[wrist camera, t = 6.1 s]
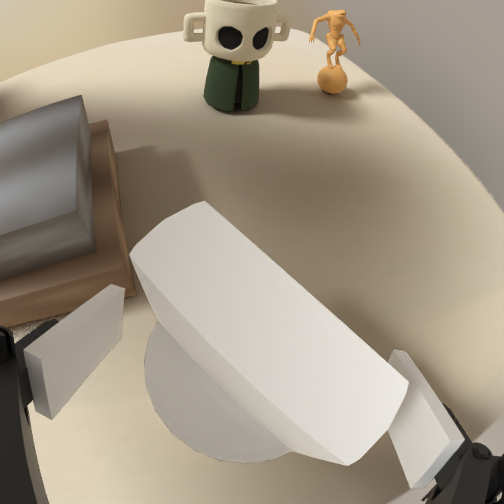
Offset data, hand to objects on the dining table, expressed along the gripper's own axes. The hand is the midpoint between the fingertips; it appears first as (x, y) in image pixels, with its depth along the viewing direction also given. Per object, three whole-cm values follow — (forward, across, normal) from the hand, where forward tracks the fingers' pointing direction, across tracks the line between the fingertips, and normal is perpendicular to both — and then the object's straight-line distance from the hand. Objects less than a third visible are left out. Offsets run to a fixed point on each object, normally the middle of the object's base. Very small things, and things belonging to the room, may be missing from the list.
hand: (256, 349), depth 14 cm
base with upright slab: (+4, 0, -5) cm, 6 cm away
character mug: (+24, -8, +15) cm, 29 cm away
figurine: (+30, +3, +22) cm, 37 cm away
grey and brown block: (+8, -18, 0) cm, 20 cm away
